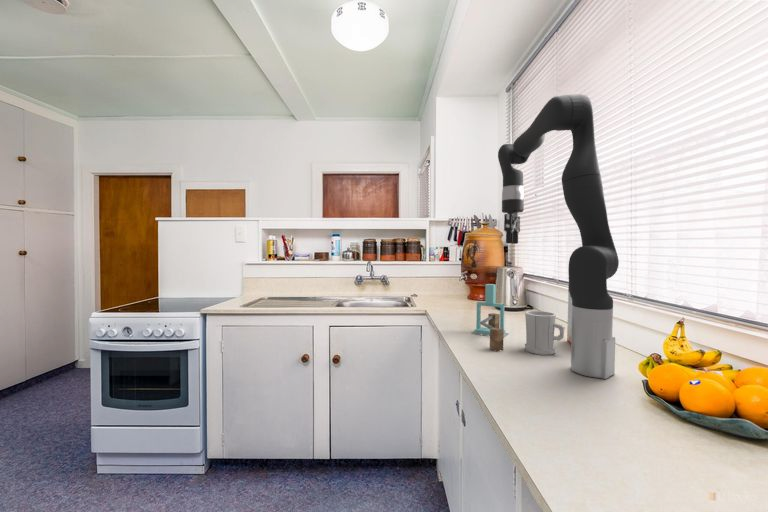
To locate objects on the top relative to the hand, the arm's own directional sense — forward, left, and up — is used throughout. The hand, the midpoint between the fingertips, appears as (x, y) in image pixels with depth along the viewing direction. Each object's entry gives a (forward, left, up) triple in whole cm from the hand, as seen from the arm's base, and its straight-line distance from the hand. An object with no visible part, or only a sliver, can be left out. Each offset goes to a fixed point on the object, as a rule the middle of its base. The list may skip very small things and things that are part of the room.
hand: (512, 243), depth 129 cm
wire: (+1, +10, -28) cm, 30 cm away
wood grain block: (+1, +9, -34) cm, 35 cm away
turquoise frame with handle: (+6, +4, -34) cm, 35 cm away
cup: (-17, +10, -34) cm, 40 cm away
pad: (+6, +4, -34) cm, 35 cm away
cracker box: (-23, -5, -34) cm, 42 cm away
